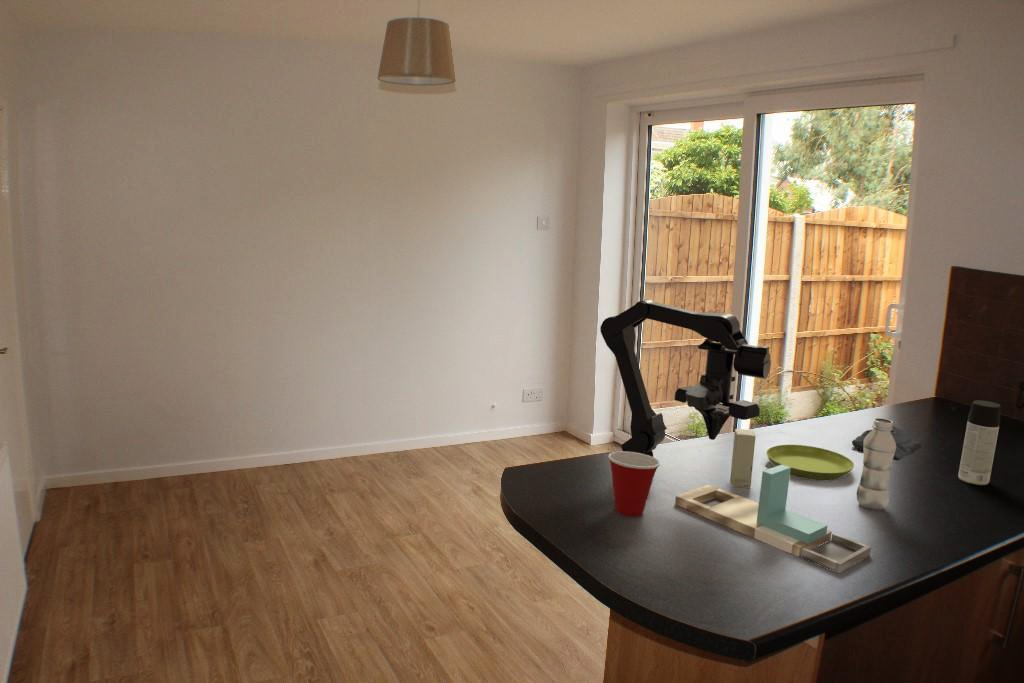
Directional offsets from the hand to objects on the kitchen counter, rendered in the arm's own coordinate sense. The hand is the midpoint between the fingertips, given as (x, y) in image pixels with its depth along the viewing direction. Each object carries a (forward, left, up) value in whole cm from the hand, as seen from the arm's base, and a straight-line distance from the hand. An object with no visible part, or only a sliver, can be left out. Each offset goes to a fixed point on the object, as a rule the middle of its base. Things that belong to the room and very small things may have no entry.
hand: (712, 439), depth 165 cm
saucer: (+29, +23, -14) cm, 39 cm away
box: (+9, +8, -13) cm, 18 cm away
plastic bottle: (+36, 0, -13) cm, 38 cm away
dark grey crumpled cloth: (+57, +48, -14) cm, 75 cm away
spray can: (+69, +23, -13) cm, 74 cm away
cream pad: (+13, -20, -13) cm, 27 cm away
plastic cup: (-18, -13, -13) cm, 26 cm away
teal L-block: (+13, -20, -11) cm, 26 cm away
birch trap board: (+9, -16, -13) cm, 23 cm away
